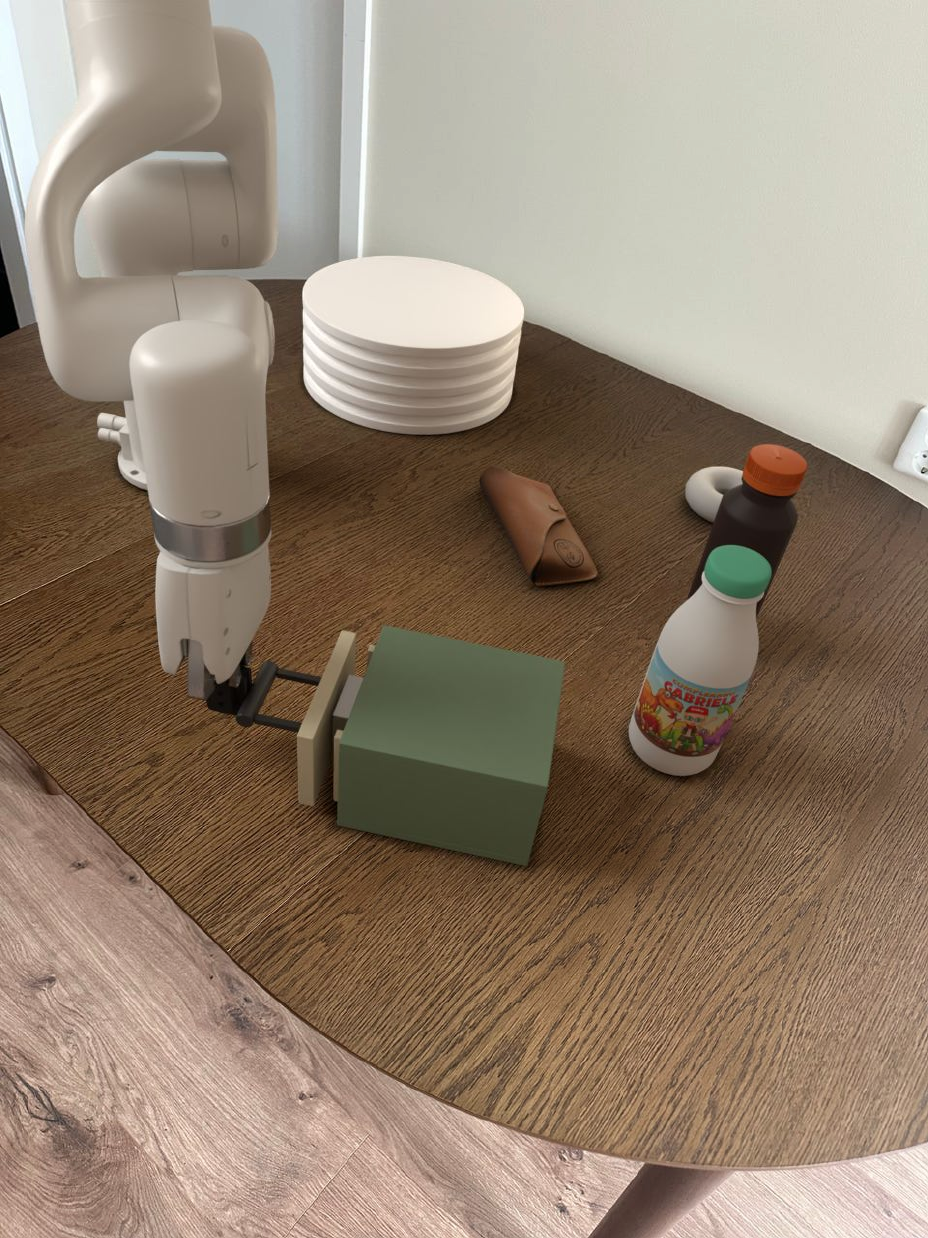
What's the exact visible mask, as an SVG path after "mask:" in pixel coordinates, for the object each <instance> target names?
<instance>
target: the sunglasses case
mask: <svg viewBox="0 0 928 1238" xmlns="http://www.w3.org/2000/svg"><path fill="white" fill-rule="evenodd" d="M478 482H479V486H480V489H481V491H482V492H483V494H484V496H485V498H486V499H487V501H488V503H489V504H490V506H491V508H492V510H493V512H494V513H495V514H496V517H497V519H498V521H499V523H500V525H501V527H502V529H503V530H504V533H505V534H506V536H507V538H508V541H509V542H510V544H511V546H512V548H513V550H514V552H515V554H516V556H517V558H518V560H519V562H520V565H521V566H522V568H523V570H524V573H525V574H526V576H527V577H528V579H529V580H530V581H531V582H532V584H533V585H534V586H535V587H554V586H557V587H558V586H564V585H571V584H577V583H581V582H582V583H583V582H588V581H593V580H595V579H597V578H598V577H599V572H598V568H597V567H596V565H595V562H594V560H593V559H592V557H591V555H590V553H589V552H588V550H587V548H586V546H585V545H584V543H583V542H582V539H581V538H580V536H579V534H578V533H577V531H576V529H575V528H574V526H573V524H572V523H571V521H570V520H569V518H568V516H567V513H566V511H565V510H564V508H563V506H562V505H561V504H560V503H559V501H558V499H557V497H556V495H555V492H553V490H552V488H551V486H550V485H549V484H548V483H546V482H541V481H537V480H534V479H531V478H529V477H526V476H522V475H519V474H516V473H513V472H512V471H510V470H507V469H506V468H503V467H502V466H499V465H497V464H495V465H490V466H488V467H486V468H485V469H484V470H483V471H482V473H481V474H480V475H479V479H478Z"/></svg>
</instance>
